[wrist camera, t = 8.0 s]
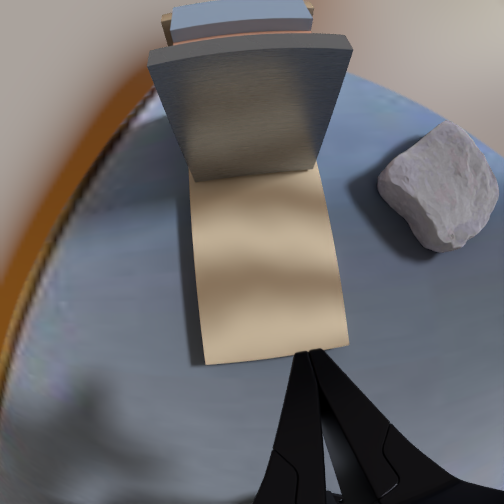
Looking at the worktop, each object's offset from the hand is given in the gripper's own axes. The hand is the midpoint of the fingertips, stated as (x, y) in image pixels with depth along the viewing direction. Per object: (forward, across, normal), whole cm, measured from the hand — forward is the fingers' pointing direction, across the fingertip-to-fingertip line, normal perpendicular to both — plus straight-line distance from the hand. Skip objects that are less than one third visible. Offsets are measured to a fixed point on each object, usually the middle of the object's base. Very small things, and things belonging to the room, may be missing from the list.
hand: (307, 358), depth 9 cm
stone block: (+16, -17, +3) cm, 23 cm away
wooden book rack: (+16, 0, +2) cm, 16 cm away
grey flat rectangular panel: (+17, 0, -1) cm, 17 cm away
